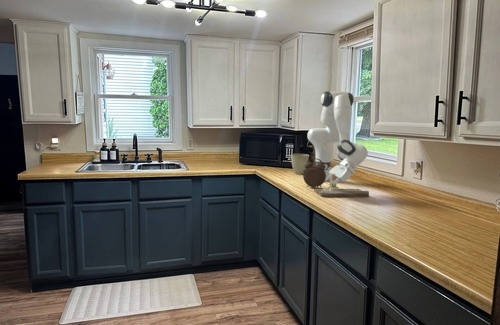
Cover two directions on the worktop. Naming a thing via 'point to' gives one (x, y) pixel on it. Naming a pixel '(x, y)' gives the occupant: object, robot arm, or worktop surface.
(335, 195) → the walnut board
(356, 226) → the worktop surface
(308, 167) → the alarm clock
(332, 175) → the stacked beige blocks
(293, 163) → the plant pot
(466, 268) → the worktop surface
